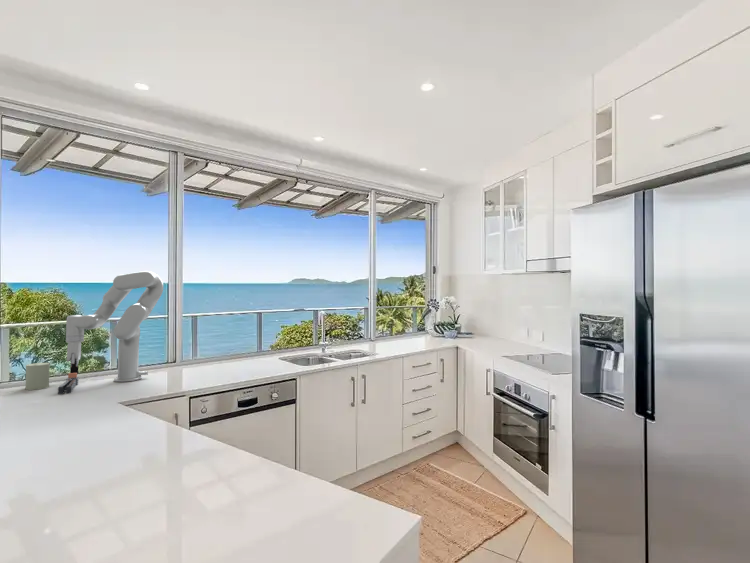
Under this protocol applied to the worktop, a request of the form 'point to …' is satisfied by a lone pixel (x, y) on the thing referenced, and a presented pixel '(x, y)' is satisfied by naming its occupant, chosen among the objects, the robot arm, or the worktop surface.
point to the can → (37, 376)
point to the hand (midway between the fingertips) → (74, 374)
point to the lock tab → (72, 375)
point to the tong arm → (63, 387)
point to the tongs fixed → (71, 384)
